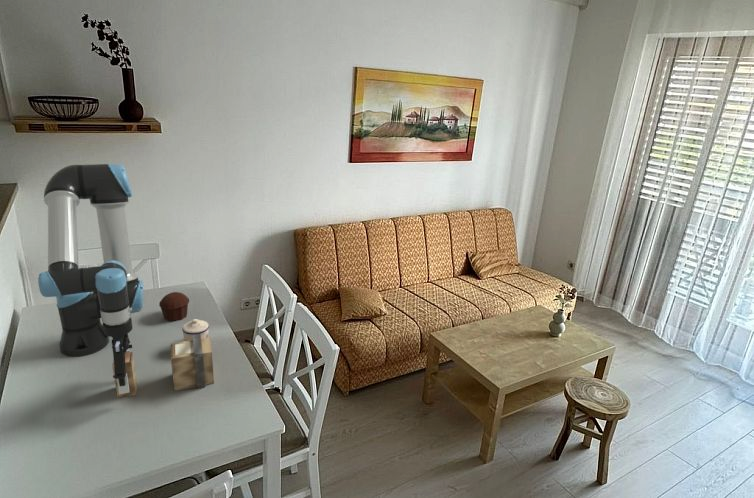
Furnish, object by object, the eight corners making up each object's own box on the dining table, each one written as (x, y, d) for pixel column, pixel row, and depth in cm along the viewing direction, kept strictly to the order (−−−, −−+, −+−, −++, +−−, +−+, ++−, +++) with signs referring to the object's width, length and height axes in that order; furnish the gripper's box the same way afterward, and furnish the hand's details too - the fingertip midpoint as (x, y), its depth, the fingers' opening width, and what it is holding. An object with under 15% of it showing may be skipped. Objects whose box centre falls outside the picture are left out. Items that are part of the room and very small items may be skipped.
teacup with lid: (211, 352, 166) (209, 324, 162) (184, 356, 163) (181, 327, 159) (209, 335, 176) (207, 308, 172) (184, 338, 173) (181, 311, 169)
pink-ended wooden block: (117, 398, 140) (112, 364, 136) (119, 386, 145) (114, 354, 141) (135, 394, 142) (131, 361, 138) (137, 383, 147) (132, 351, 143)
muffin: (183, 324, 183) (180, 302, 179) (155, 322, 183) (153, 300, 179) (194, 310, 194) (193, 289, 191) (169, 308, 194) (166, 287, 191)
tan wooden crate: (174, 393, 144) (170, 358, 139) (174, 371, 154) (170, 338, 149) (214, 385, 148) (212, 351, 144) (211, 365, 159) (209, 332, 154)
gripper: (128, 339, 126) (137, 402, 133) (133, 299, 147) (141, 356, 154) (96, 343, 123) (107, 407, 130) (107, 302, 144) (116, 360, 151)
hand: (126, 379), depth 142 cm, fingers open, 13 cm apart
